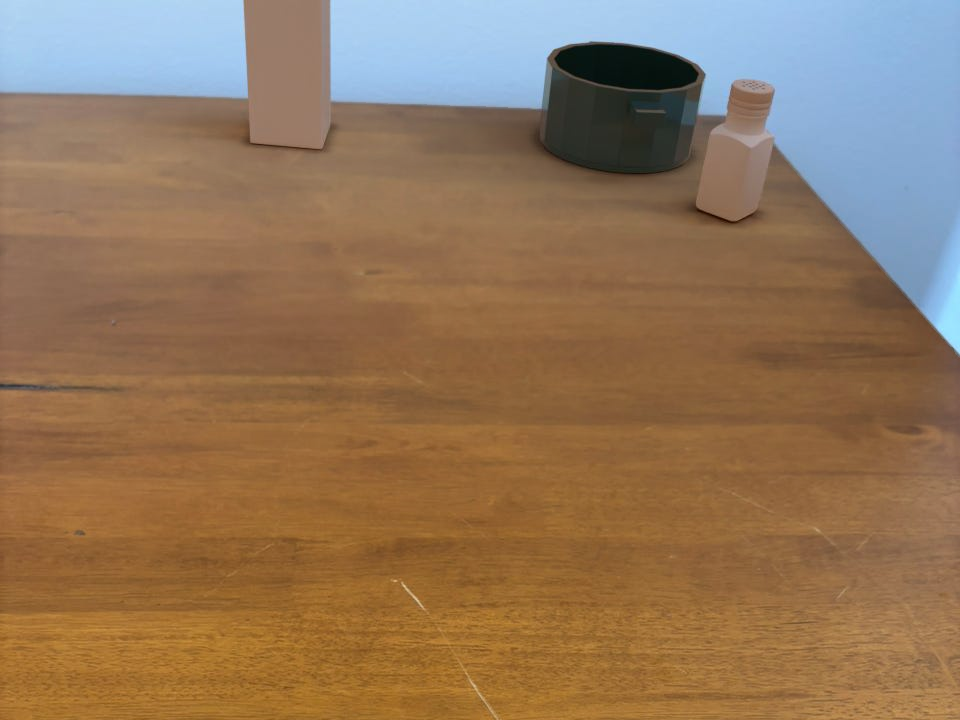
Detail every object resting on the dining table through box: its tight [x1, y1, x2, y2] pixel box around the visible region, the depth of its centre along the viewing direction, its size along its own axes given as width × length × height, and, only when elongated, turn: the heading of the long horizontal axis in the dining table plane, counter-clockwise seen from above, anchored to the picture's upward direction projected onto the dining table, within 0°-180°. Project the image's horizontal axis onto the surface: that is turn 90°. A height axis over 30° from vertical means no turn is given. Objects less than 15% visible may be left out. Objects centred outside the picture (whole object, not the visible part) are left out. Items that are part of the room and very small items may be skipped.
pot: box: [538, 40, 707, 174], centre depth 102 cm, size 13×19×6 cm
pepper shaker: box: [695, 78, 776, 222], centre depth 91 cm, size 4×4×10 cm
